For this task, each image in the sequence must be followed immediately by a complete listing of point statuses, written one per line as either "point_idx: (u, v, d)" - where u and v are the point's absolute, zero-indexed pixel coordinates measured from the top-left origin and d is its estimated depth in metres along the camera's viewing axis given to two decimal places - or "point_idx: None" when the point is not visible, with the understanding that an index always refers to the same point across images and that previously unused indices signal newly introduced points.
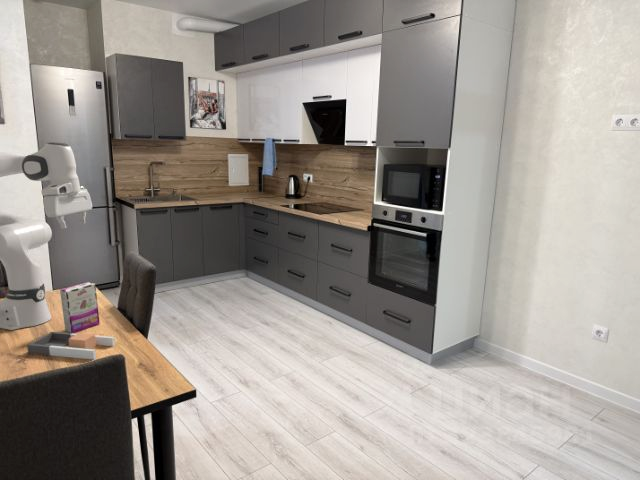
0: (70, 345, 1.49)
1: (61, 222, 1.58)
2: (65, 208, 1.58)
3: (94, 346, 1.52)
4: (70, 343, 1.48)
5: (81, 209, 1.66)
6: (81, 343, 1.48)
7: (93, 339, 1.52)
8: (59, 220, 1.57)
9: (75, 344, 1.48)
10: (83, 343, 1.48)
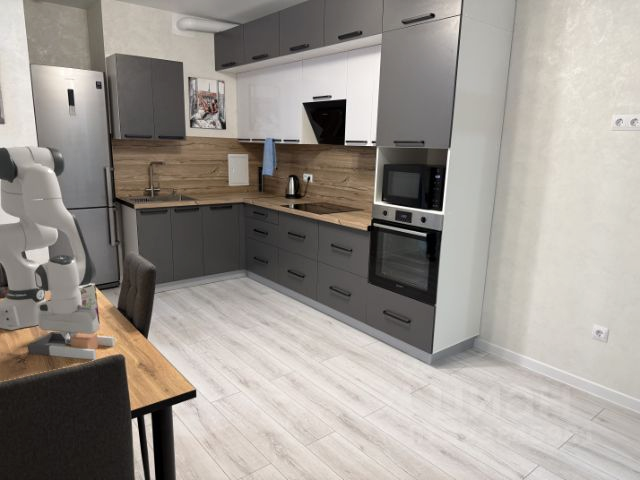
0: (72, 345, 1.48)
1: None
2: (52, 325, 1.49)
3: (96, 346, 1.52)
4: (72, 343, 1.48)
5: (74, 330, 1.48)
6: (83, 343, 1.47)
7: (95, 338, 1.51)
8: None
9: (78, 344, 1.48)
10: (85, 343, 1.47)
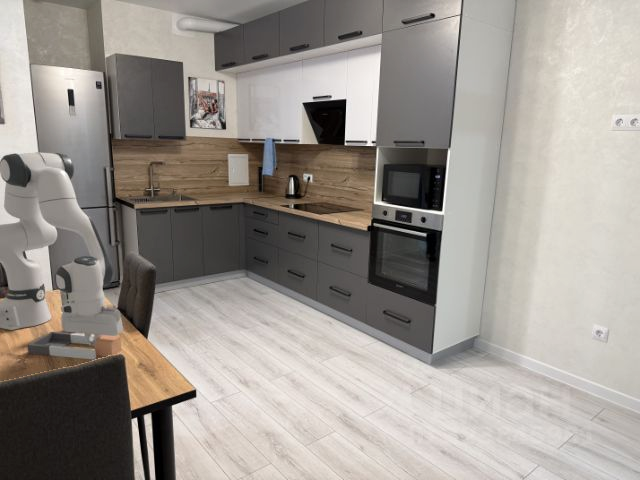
0: (96, 347, 1.47)
1: None
2: (76, 327, 1.47)
3: (119, 348, 1.51)
4: (96, 345, 1.47)
5: (98, 332, 1.46)
6: (107, 345, 1.46)
7: (119, 341, 1.50)
8: None
9: (101, 346, 1.47)
10: (109, 345, 1.46)
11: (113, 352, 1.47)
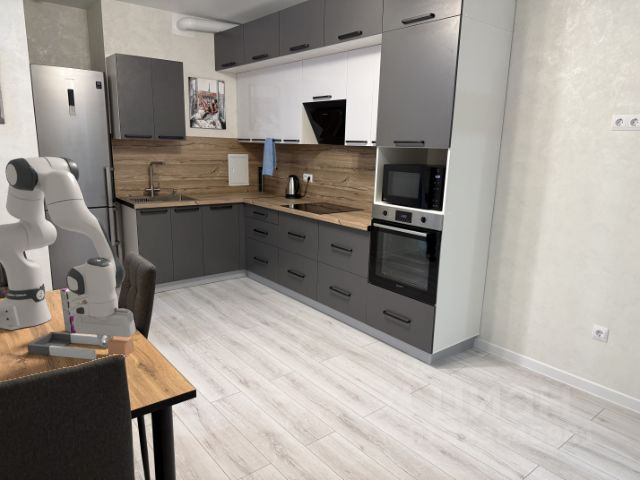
0: (109, 349, 1.46)
1: None
2: (88, 328, 1.47)
3: (132, 349, 1.50)
4: (109, 346, 1.46)
5: (111, 334, 1.46)
6: (120, 346, 1.46)
7: (132, 342, 1.49)
8: None
9: (114, 347, 1.46)
10: (122, 346, 1.45)
11: (126, 353, 1.47)
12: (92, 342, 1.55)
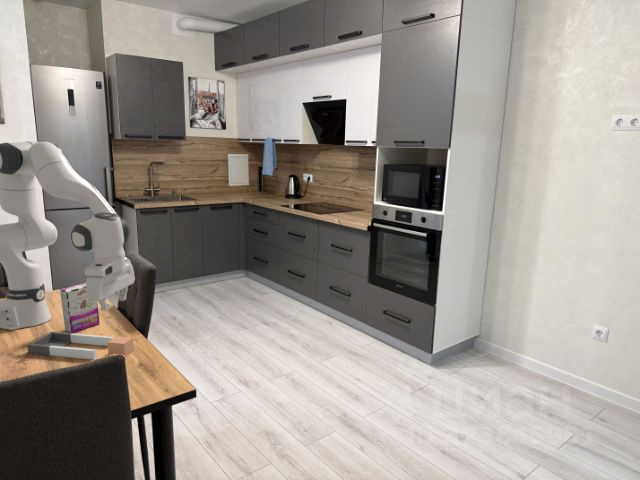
0: (109, 349, 1.46)
1: (102, 304, 1.40)
2: (108, 289, 1.39)
3: (132, 349, 1.50)
4: (109, 346, 1.46)
5: (124, 286, 1.47)
6: (120, 347, 1.46)
7: (132, 342, 1.50)
8: (101, 302, 1.39)
9: (114, 347, 1.46)
10: (122, 346, 1.45)
11: (126, 353, 1.47)
12: (92, 342, 1.55)
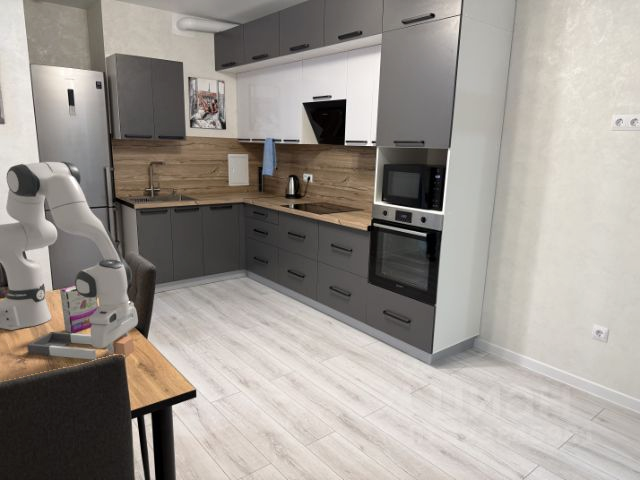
0: None
1: (110, 348, 1.44)
2: (112, 335, 1.43)
3: (132, 349, 1.50)
4: None
5: (127, 329, 1.51)
6: (120, 346, 1.45)
7: (132, 342, 1.49)
8: (108, 346, 1.44)
9: None
10: (122, 346, 1.45)
11: (126, 353, 1.47)
12: None
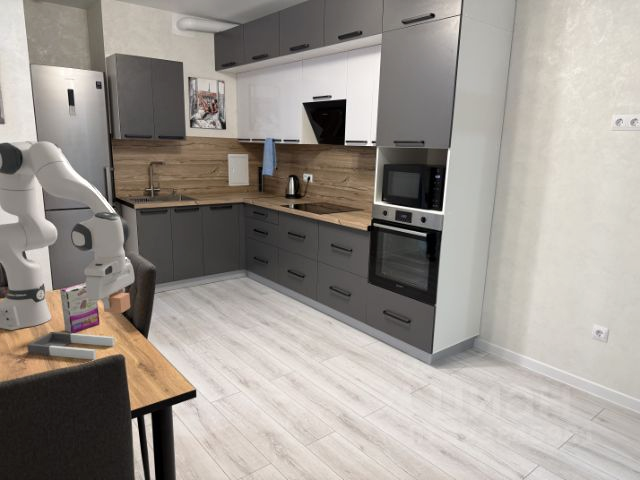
0: None
1: (105, 302, 1.41)
2: (108, 289, 1.39)
3: (128, 305, 1.47)
4: None
5: (123, 285, 1.47)
6: (116, 301, 1.42)
7: (128, 298, 1.46)
8: (103, 300, 1.40)
9: None
10: (118, 301, 1.42)
11: (122, 308, 1.43)
12: (92, 342, 1.55)
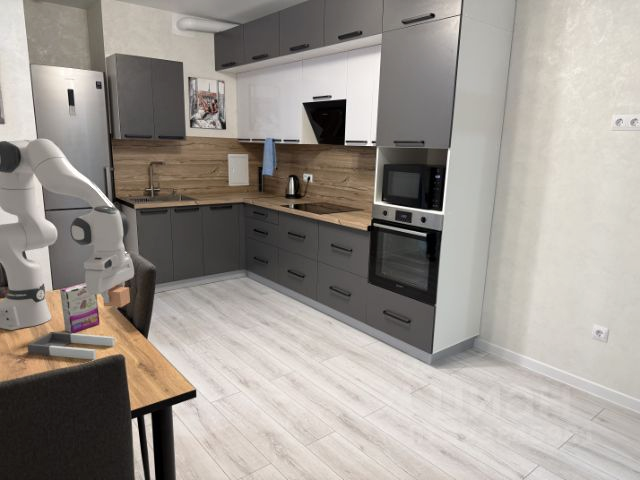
0: None
1: (105, 296, 1.41)
2: (108, 283, 1.39)
3: (128, 300, 1.46)
4: None
5: (123, 280, 1.47)
6: (116, 295, 1.42)
7: (128, 292, 1.46)
8: (103, 294, 1.40)
9: None
10: (118, 295, 1.42)
11: (122, 303, 1.43)
12: (92, 342, 1.55)
